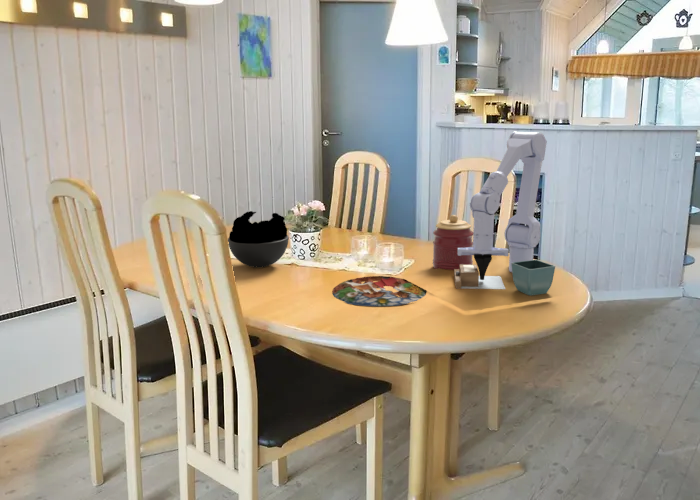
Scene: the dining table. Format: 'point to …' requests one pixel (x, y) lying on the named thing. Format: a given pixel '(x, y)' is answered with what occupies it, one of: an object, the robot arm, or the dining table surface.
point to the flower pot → (532, 276)
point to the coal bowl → (258, 240)
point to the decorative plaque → (378, 291)
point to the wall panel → (481, 282)
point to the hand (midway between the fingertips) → (481, 279)
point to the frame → (469, 275)
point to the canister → (451, 244)
